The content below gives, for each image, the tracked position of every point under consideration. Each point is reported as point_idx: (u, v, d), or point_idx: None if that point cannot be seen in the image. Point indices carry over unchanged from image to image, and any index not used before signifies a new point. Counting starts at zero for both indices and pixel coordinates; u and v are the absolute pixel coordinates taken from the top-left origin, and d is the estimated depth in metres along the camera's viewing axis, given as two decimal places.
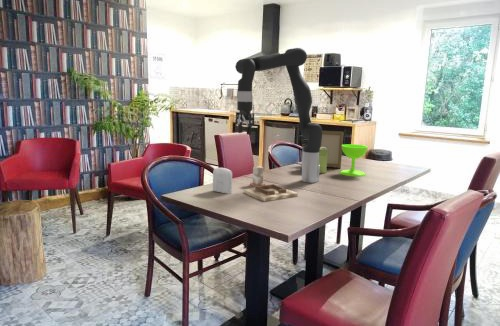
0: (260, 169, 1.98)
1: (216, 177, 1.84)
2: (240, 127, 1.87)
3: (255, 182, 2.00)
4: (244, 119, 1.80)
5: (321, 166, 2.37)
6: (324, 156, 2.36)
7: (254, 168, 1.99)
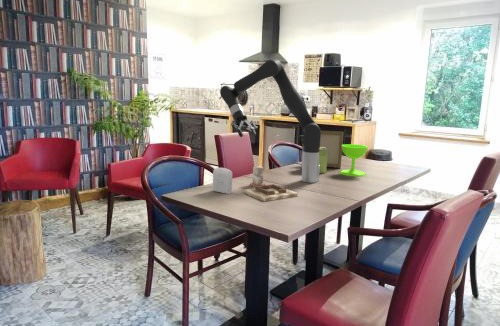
0: (260, 169, 1.98)
1: (216, 177, 1.84)
2: (252, 132, 2.09)
3: (255, 182, 2.00)
4: None
5: (321, 166, 2.37)
6: (324, 156, 2.35)
7: (254, 168, 1.99)
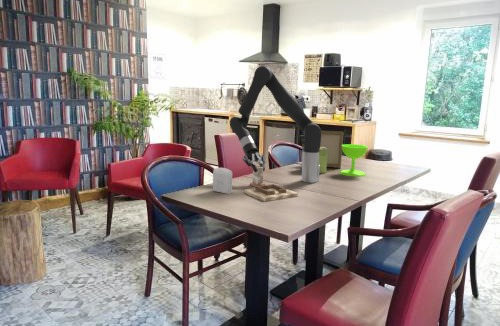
0: (260, 169, 1.98)
1: (216, 177, 1.84)
2: (261, 166, 2.01)
3: (255, 182, 2.00)
4: (250, 161, 2.02)
5: (321, 166, 2.37)
6: (324, 156, 2.36)
7: None
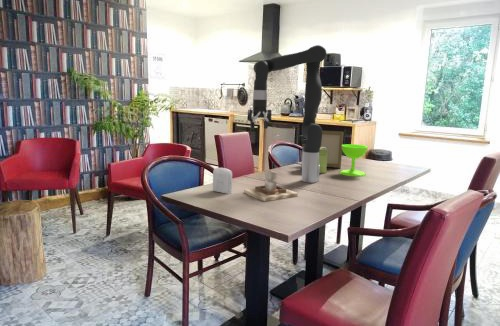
0: (273, 174, 1.80)
1: (216, 177, 1.84)
2: (265, 123, 2.05)
3: (268, 188, 1.81)
4: None
5: (321, 166, 2.37)
6: (324, 156, 2.36)
7: (267, 173, 1.81)
